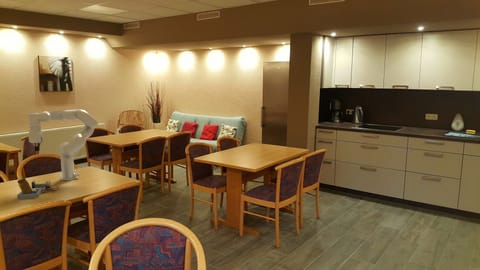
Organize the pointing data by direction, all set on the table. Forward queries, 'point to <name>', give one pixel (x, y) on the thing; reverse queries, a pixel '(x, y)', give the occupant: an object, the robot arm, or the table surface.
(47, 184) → the crank
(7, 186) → the table surface
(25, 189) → the condiment
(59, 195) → the table surface
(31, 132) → the robot arm
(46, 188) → the crank base
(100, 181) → the table surface
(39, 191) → the tray
